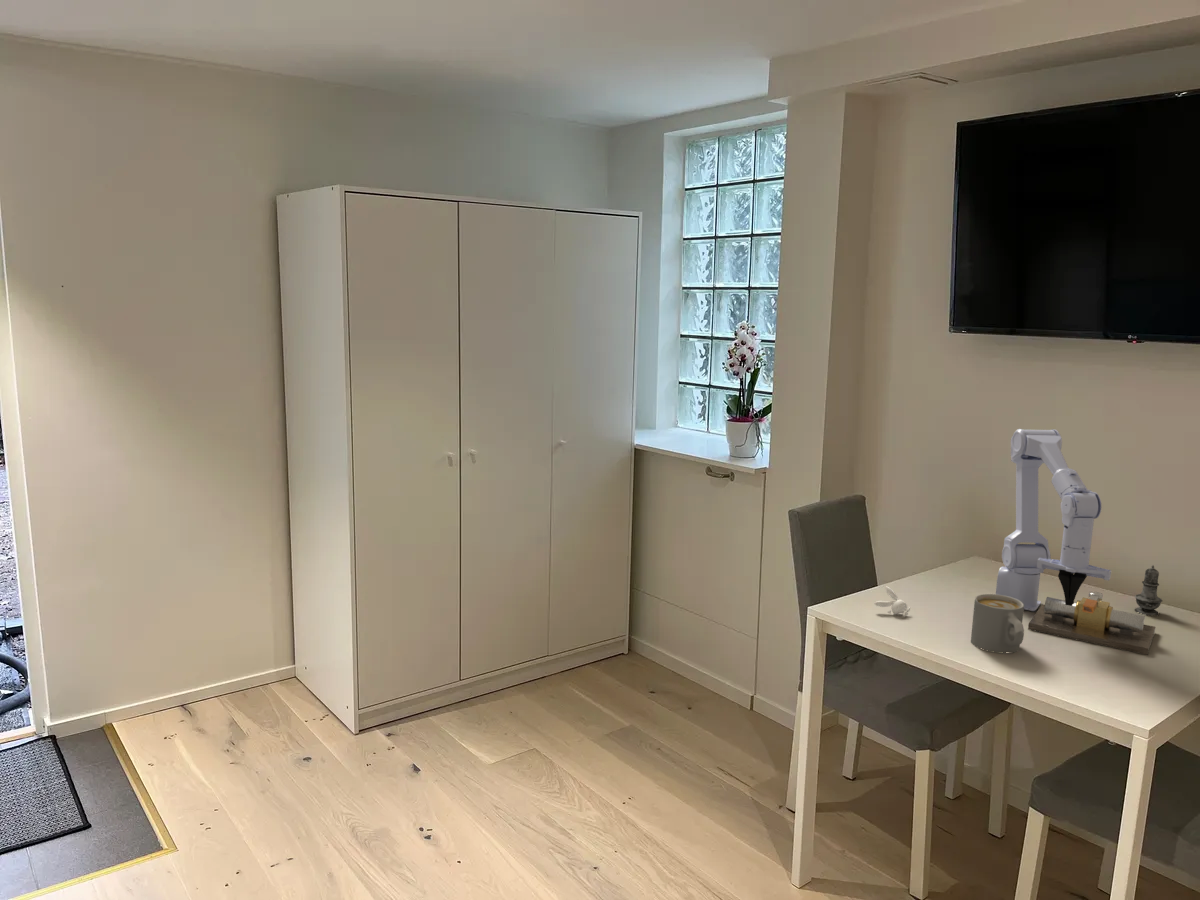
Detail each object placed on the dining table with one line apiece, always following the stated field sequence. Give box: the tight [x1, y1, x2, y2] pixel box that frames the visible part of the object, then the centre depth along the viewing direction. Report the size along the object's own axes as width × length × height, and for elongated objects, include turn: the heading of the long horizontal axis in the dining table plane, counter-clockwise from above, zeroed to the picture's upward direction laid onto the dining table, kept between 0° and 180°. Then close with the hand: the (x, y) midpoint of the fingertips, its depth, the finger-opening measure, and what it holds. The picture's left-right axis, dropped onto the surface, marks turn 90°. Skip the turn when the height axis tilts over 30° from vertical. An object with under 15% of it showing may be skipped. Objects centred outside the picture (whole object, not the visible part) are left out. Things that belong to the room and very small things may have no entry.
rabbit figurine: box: [874, 585, 911, 618], centre depth 222 cm, size 6×4×8 cm
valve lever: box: [1082, 590, 1104, 613], centre depth 208 cm, size 12×3×2 cm, turn 144°
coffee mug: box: [970, 593, 1025, 654], centre depth 201 cm, size 13×10×10 cm
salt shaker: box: [1134, 565, 1163, 616], centre depth 225 cm, size 6×6×12 cm
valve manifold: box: [1027, 596, 1156, 656], centre depth 212 cm, size 24×16×8 cm, turn 54°
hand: (1069, 604), depth 207 cm, fingers closed
